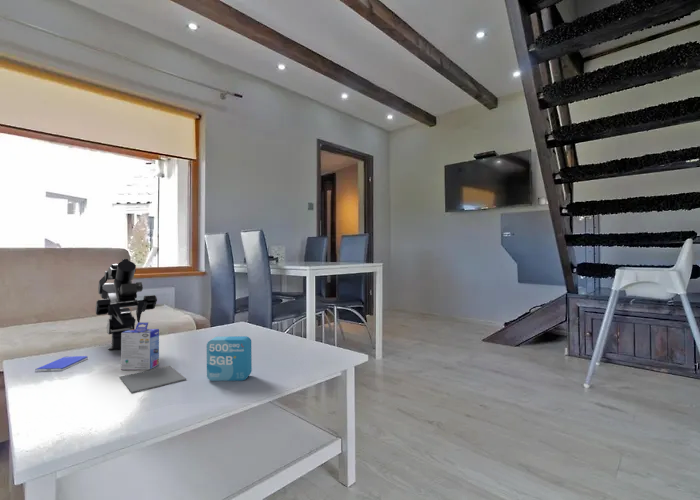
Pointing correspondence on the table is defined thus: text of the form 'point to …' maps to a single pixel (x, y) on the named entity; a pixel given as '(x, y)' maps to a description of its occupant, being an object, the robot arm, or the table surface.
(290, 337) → the table surface
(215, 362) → the data package
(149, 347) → the ink cartridge box
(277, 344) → the table surface
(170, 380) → the mat
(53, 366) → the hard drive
